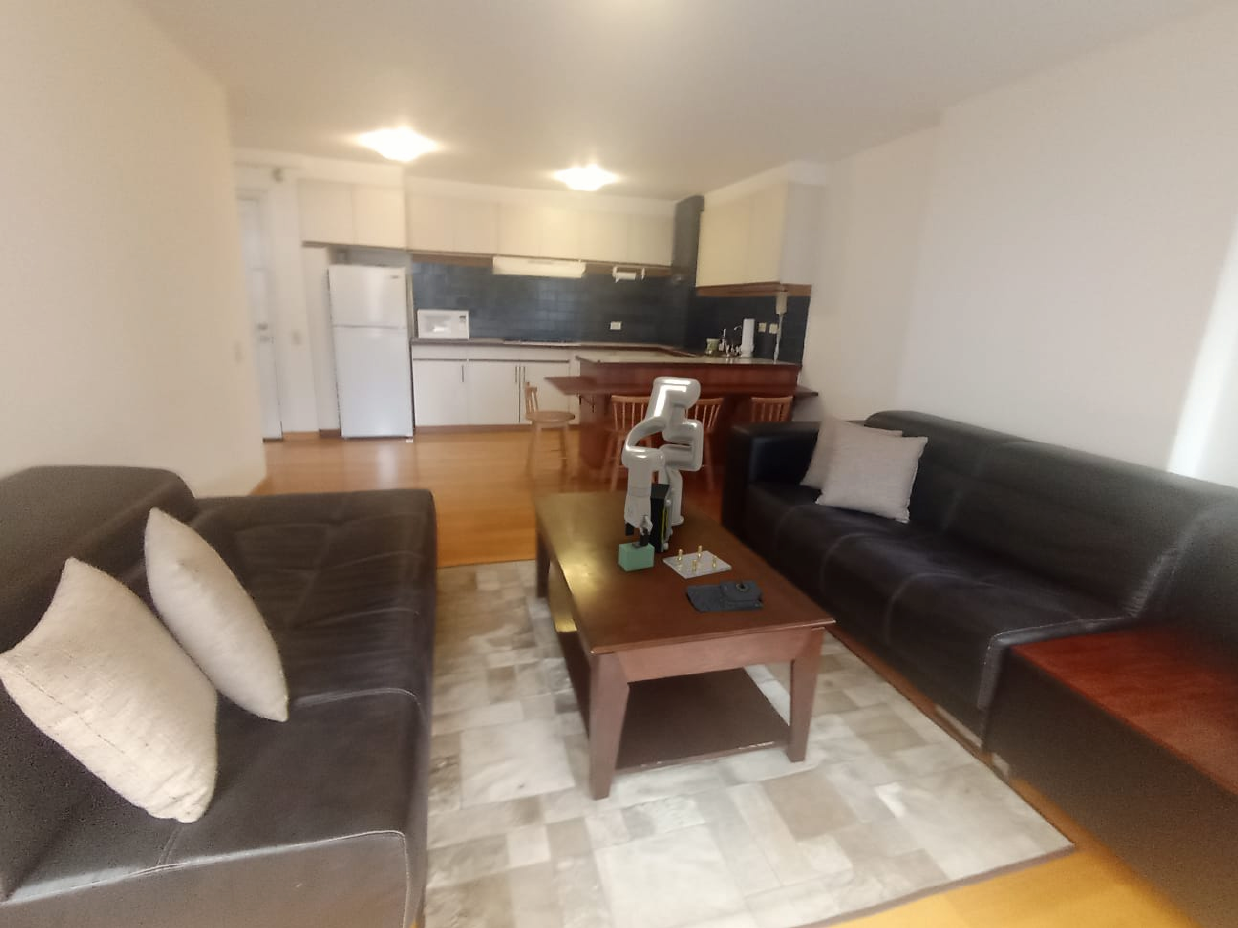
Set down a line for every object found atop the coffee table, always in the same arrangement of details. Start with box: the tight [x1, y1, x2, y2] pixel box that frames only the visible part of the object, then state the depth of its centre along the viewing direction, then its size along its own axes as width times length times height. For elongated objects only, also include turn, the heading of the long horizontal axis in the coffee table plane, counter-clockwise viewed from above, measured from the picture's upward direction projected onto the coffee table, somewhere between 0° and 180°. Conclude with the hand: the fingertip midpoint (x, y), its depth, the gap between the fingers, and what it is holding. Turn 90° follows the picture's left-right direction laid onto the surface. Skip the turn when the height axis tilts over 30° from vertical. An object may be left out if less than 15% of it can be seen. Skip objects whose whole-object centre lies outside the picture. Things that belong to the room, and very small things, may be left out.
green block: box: [617, 541, 655, 572], centre depth 191 cm, size 6×10×8 cm, turn 115°
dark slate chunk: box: [685, 579, 765, 613], centre depth 172 cm, size 15×22×5 cm
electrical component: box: [644, 482, 675, 554], centre depth 209 cm, size 18×10×20 cm, turn 168°
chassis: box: [662, 545, 732, 579], centre depth 193 cm, size 14×18×4 cm
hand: (636, 540), depth 190 cm, fingers open, 9 cm apart
